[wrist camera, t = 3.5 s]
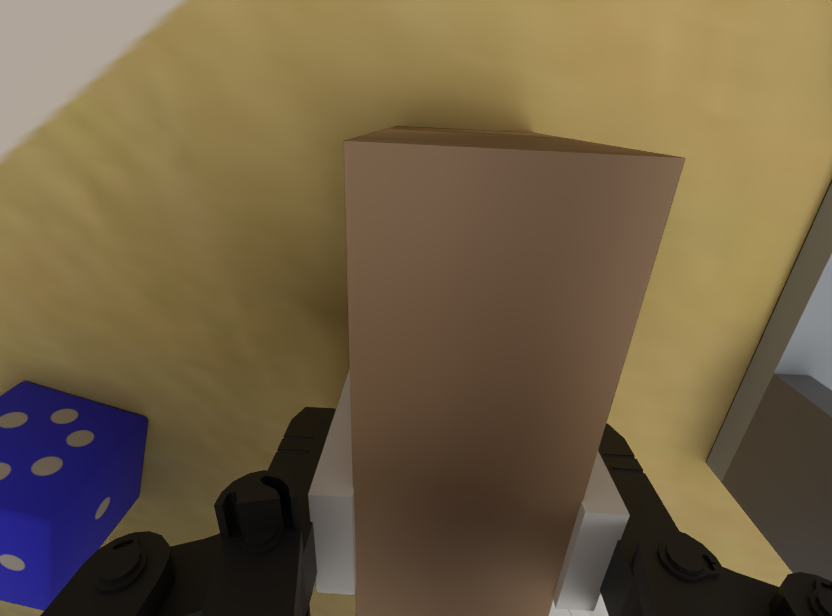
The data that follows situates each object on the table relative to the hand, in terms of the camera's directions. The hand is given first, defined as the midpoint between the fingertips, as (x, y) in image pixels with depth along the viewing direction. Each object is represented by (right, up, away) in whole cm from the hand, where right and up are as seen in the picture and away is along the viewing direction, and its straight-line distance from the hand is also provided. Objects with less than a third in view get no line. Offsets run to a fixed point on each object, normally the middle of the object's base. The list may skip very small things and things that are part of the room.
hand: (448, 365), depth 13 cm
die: (-15, -4, +5) cm, 16 cm away
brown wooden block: (0, +1, +2) cm, 2 cm away
